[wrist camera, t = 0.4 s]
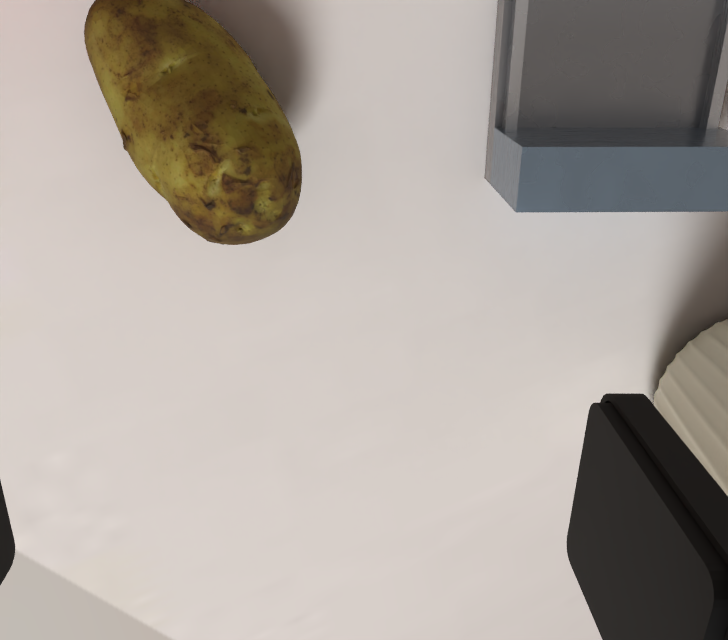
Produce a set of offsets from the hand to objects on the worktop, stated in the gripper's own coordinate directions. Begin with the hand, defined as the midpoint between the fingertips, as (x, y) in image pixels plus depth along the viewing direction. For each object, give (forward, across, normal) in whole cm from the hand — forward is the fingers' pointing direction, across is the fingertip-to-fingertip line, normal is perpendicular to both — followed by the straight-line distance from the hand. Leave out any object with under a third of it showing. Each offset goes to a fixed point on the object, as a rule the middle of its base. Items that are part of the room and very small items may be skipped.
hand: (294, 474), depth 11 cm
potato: (+30, +6, -2) cm, 31 cm away
